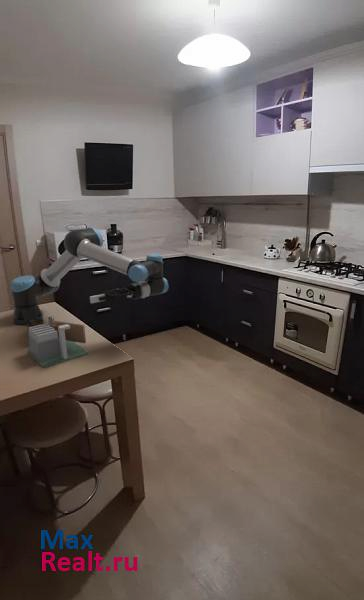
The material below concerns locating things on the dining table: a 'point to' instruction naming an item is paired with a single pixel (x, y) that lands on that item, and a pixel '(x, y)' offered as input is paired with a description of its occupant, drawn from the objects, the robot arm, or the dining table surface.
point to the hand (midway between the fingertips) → (90, 299)
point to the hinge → (70, 330)
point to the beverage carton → (34, 323)
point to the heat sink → (52, 345)
